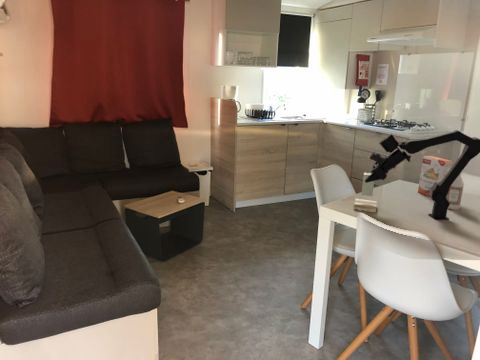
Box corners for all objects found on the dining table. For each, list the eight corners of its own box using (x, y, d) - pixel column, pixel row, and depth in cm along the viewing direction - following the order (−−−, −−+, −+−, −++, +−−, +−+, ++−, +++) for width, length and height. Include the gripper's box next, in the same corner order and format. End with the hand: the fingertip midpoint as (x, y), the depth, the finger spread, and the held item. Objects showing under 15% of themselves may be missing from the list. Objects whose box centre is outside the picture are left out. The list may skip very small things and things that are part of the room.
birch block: (375, 213, 188) (376, 207, 187) (353, 210, 191) (354, 204, 190) (375, 207, 197) (376, 201, 196) (354, 204, 200) (355, 198, 199)
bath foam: (443, 208, 198) (450, 168, 193) (444, 204, 204) (450, 166, 199) (459, 211, 195) (466, 170, 190) (459, 207, 201) (466, 168, 196)
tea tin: (372, 196, 189) (374, 175, 186) (361, 195, 190) (363, 174, 188) (372, 193, 193) (375, 173, 191) (361, 192, 195) (364, 172, 192)
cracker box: (417, 192, 225) (422, 155, 220) (424, 191, 227) (430, 155, 222) (438, 199, 213) (445, 161, 207) (446, 198, 215) (453, 160, 210)
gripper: (381, 143, 193) (355, 163, 199) (382, 149, 176) (353, 171, 182) (396, 161, 193) (370, 181, 199) (398, 169, 176) (369, 190, 182)
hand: (365, 180), depth 191 cm, fingers closed on tea tin, 5 cm apart
